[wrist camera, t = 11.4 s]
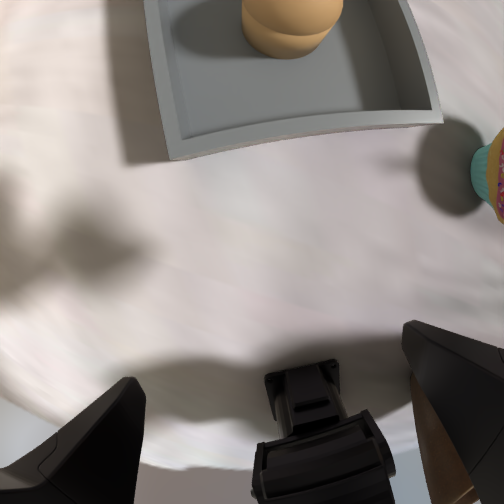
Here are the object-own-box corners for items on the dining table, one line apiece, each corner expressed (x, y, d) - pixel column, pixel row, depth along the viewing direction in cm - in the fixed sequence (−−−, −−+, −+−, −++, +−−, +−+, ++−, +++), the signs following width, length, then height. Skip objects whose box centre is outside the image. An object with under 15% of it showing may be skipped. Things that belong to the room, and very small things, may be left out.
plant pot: (351, 412, 26) (400, 537, 10) (429, 291, 22) (552, 404, 6) (436, 412, 28) (487, 495, 13) (499, 318, 24) (581, 390, 9)
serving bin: (407, 127, 17) (443, 123, 13) (185, 160, 18) (169, 159, 13) (351, -39, 13) (370, -66, 8) (154, -22, 13) (139, -53, 9)
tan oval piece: (331, 56, 15) (371, 16, 9) (250, 64, 15) (255, 17, 9) (311, -5, 14) (337, -56, 7) (234, 1, 14) (233, -56, 7)
